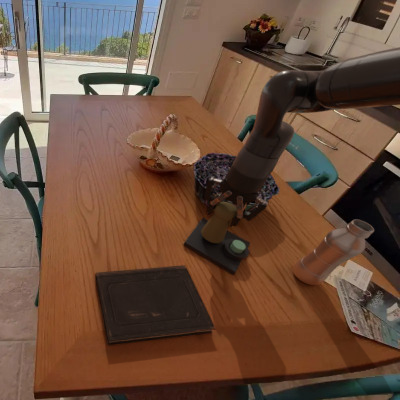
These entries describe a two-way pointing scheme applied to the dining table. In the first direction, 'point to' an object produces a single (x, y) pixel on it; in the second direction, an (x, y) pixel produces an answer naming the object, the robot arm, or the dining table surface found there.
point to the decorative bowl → (219, 168)
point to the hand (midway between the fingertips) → (220, 219)
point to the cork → (219, 222)
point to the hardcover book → (151, 305)
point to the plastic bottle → (333, 252)
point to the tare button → (237, 246)
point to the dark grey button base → (217, 249)
